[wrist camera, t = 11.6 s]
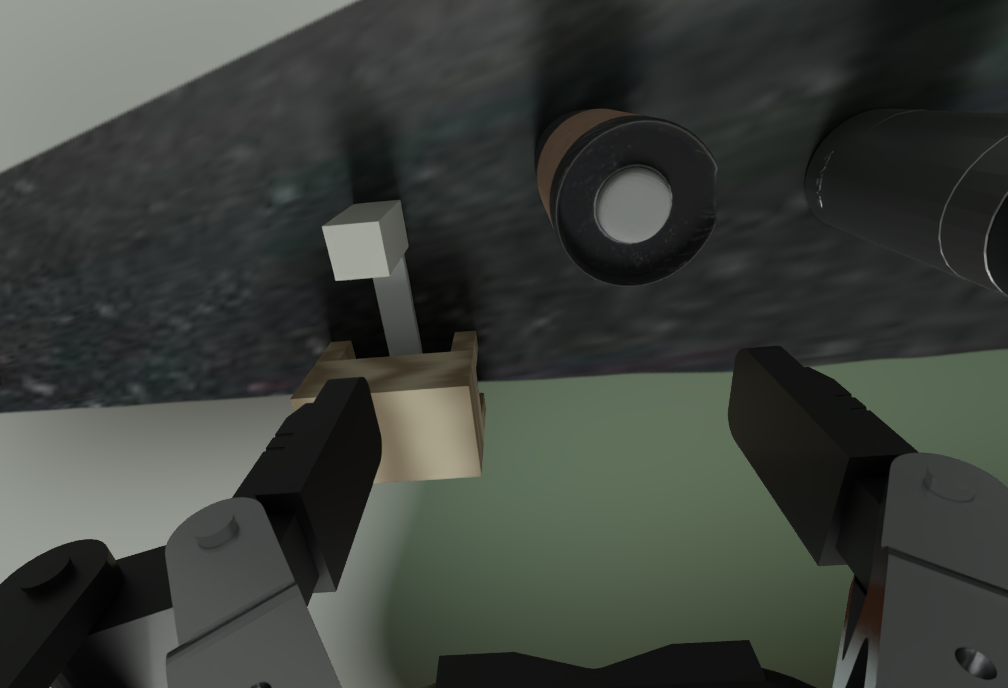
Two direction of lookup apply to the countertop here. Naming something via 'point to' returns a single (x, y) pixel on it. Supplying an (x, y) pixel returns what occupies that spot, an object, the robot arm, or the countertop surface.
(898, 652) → the robot arm
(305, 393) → the notched wooden block
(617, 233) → the travel mug
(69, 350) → the countertop surface
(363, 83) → the countertop surface
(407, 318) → the grey l-shaped block
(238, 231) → the countertop surface
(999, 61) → the countertop surface
